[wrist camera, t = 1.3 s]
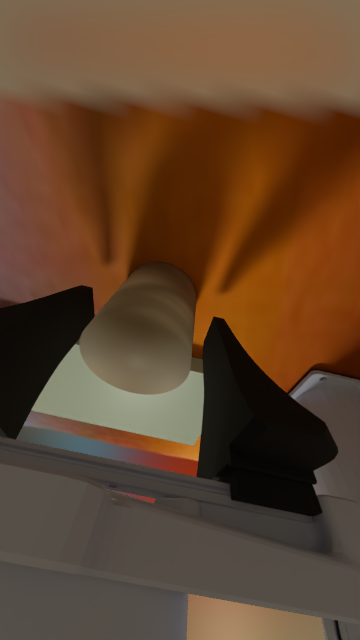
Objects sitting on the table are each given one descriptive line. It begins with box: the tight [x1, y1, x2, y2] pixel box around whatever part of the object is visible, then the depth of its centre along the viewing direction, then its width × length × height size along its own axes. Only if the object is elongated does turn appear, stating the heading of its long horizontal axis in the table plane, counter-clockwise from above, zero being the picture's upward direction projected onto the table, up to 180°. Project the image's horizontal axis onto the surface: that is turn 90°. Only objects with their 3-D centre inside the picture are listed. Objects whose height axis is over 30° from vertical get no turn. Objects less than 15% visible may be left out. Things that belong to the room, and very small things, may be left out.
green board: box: [32, 339, 204, 446], centre depth 19 cm, size 22×13×2 cm, turn 78°
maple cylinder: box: [79, 262, 197, 395], centre depth 11 cm, size 5×5×6 cm
